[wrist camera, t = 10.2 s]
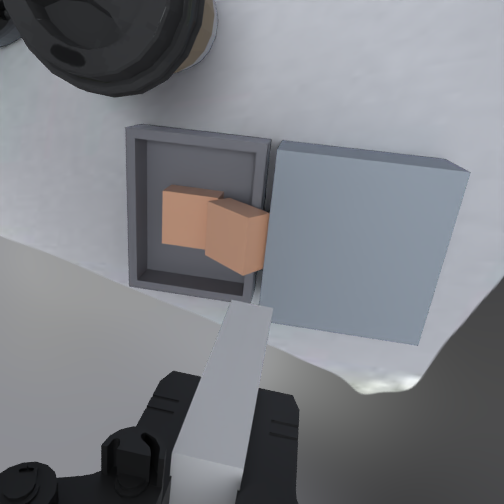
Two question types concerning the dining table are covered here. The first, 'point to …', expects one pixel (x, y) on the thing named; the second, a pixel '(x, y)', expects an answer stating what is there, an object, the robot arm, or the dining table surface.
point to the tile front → (236, 235)
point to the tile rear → (186, 215)
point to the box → (190, 175)
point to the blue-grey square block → (358, 239)
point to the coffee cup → (116, 39)
